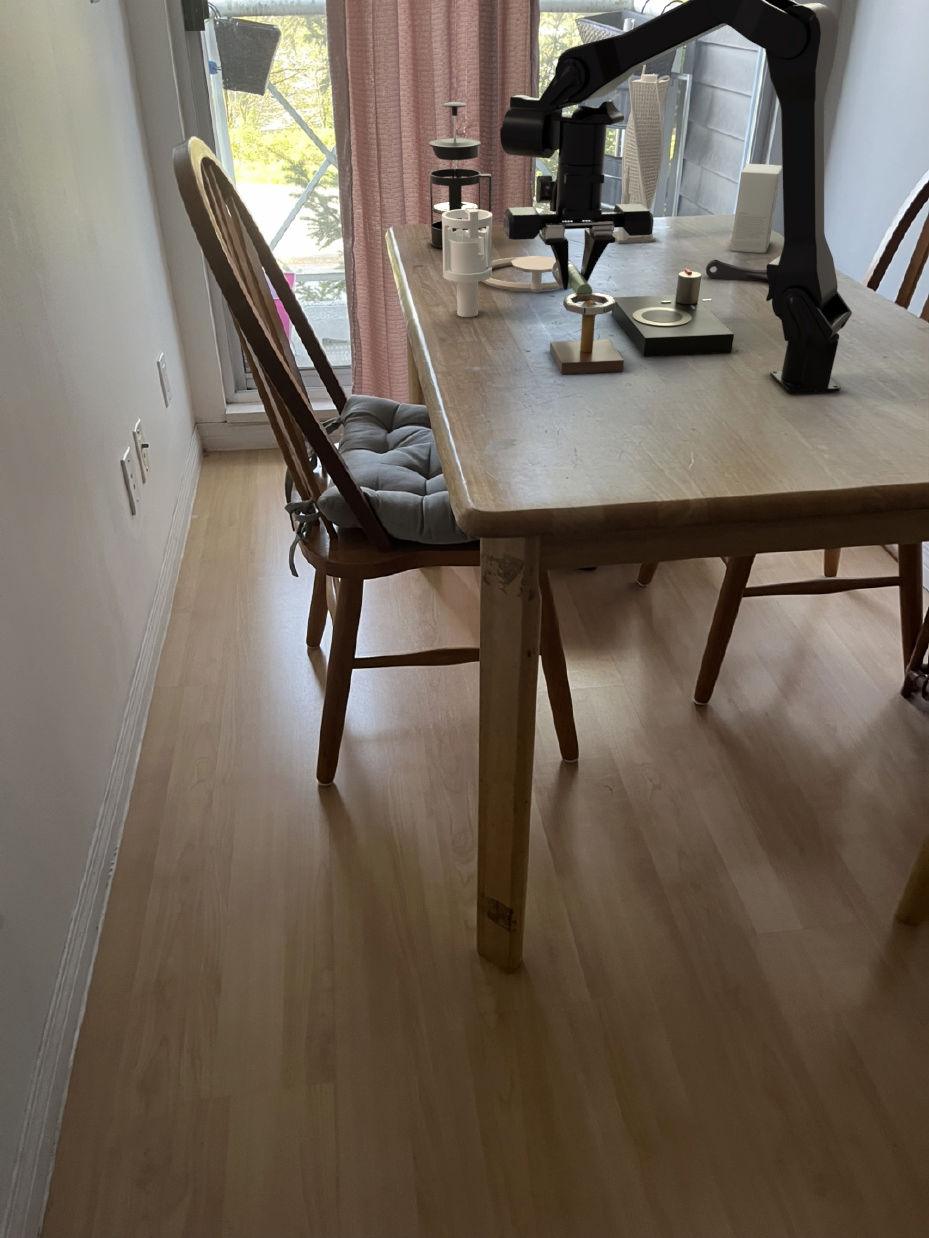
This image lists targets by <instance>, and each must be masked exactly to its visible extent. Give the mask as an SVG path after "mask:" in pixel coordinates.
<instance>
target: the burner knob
mask: <svg viewBox="0 0 929 1238" xmlns="http://www.w3.org/2000/svg"><path fill="white" fill-rule="evenodd" d="M701 282H702V273H700V272H699V271H692V270H691V269H689V268H685V269H684V271H680V272H679V273H678V275H677V284H676V292H675V295H676V299H675V301H676V302H677V303H680V304H688V305H689V304H696V303H697V302H698V300H699V298H700V297H699V296H700V290H701Z"/></svg>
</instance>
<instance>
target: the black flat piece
mask: <svg viewBox="0 0 929 1238" xmlns="http://www.w3.org/2000/svg"><path fill="white" fill-rule="evenodd" d="M712 268H716V270H715V271H711V269H712ZM705 273H706V276H707V277H708V278H711V279H717V280H739V281H762V282H763V281H764V282H768V277H767V270H766V269H754V268H748V267H741V266H737V265H733V264H729V263H726V262H723V261H720V260H719V259H712V260H711V261H709V262H708V263H707V265H706V267H705Z"/></svg>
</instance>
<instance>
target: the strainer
mask: <svg viewBox="0 0 929 1238" xmlns="http://www.w3.org/2000/svg"><path fill="white" fill-rule="evenodd" d="M457 218H462V219H457ZM441 221H442V238H443V250H442V277H443V279H445V280H447V281H450V282H454V283H456V298H457V299H456V304H457V305H456V310H457V311H456V314H457V316H459V317H463V318H473V317H476V316H478V315H479V282H482V281H484V280H487V279H489V278H492V277H493V268H492V261H493V259H492V256H493V255H492V254H493V253H492V252H493V250H492V249H493V213H492V211H491V212H489V210H485V209H480V210H479V208H478V209H475V208H474V207H466V208H465V209H457V210H451V211H447V212H444V213H443V214H441ZM448 226H449V227H448ZM482 227H486V228H482ZM452 228H458V229H456V231H455V232H453V229H452ZM478 228H480V230H478ZM463 229H468V230H463Z"/></svg>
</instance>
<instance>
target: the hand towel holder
mask: <svg viewBox="0 0 929 1238" xmlns="http://www.w3.org/2000/svg"><path fill="white" fill-rule="evenodd" d="M555 262H556V259H555V257H551V256H543V255H542V256H541V255H528V256H527V255H526V256H519V257H517V256H516V257H507V258H500V259H495V260H492V269H495V268H498V267H499V268H500V267H505V266H513V267H514V268H515V270H517V271H521V272H524V273H531V282H514V281H513V282H512V281H505V280H501V279H500V280H499V279H496V278H492V277H491V278H489V279H487V280H484V281H481V283H483V284H485V285H488V286H491V287H494V288H498V289H501V290H502V289H503V290H509V291H518V292H519V291H520V292H531V293H535V294H538V293H540V294H541V292H542V291H551V290H557V289H563V288H562V287H561V286H560V285H559V284H558V283H557V281H556V280H555V281H549V282H542V275H543V274H544V273H552V268H553V265H554V263H555Z"/></svg>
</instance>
